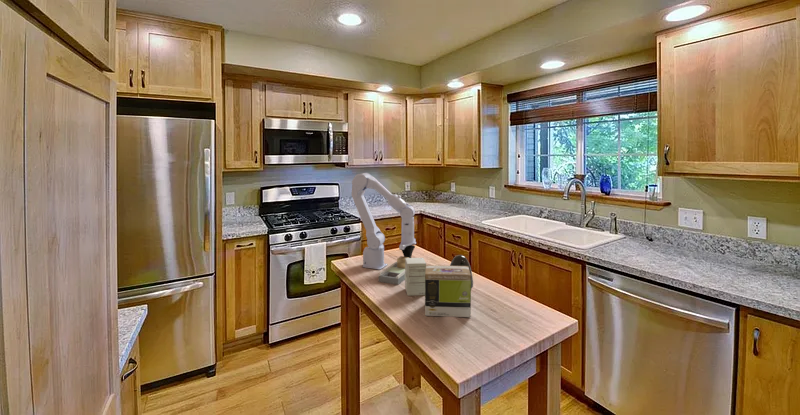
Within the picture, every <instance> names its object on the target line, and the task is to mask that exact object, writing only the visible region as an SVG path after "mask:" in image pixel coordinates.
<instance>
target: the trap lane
mask: <svg viewBox="0 0 800 415" xmlns="http://www.w3.org/2000/svg"><path fill="white" fill-rule="evenodd" d="M404 281H405V268H398V267H397V261H395V262H394V263H392V264H390V265H388V267H387V266H386V267H385V268H384V269H382V270H381V271H380V272H378V282H379V283H380V282H381V283H385V284H392V285H397V286H398V285H400V284H401V283H403V282H404Z"/></svg>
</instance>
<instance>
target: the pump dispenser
mask: <svg viewBox="0 0 800 415" xmlns="http://www.w3.org/2000/svg"><path fill="white" fill-rule="evenodd" d="M449 266H468V267H469V271H470V274H471V290H472V289H473V287H474V277H473V273H472V268H471V265H470V262H469V260H468V258H467V257H466V256H465V255H463V254H458V255H457V254H456V255H455V256H454V257H453V259H452V260H451V262H450V264H449Z"/></svg>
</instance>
